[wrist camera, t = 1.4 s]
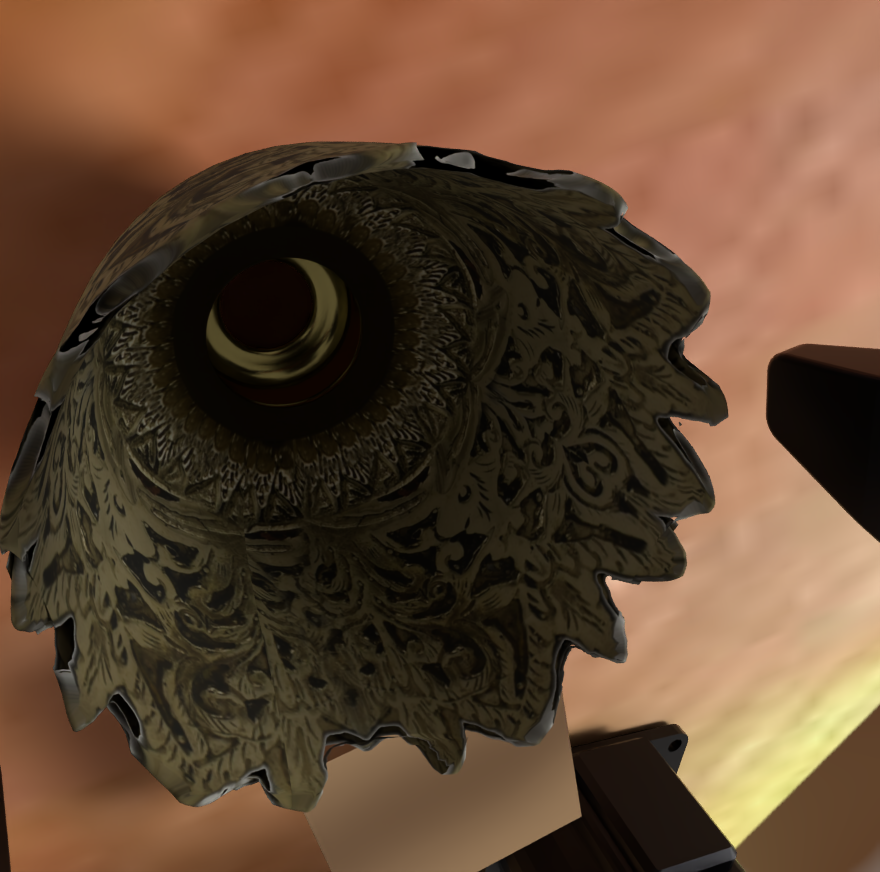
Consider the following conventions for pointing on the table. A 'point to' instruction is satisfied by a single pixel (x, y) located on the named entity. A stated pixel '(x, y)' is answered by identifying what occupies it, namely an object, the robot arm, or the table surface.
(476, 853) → the walnut block
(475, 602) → the ornate bronze bell
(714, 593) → the table surface
